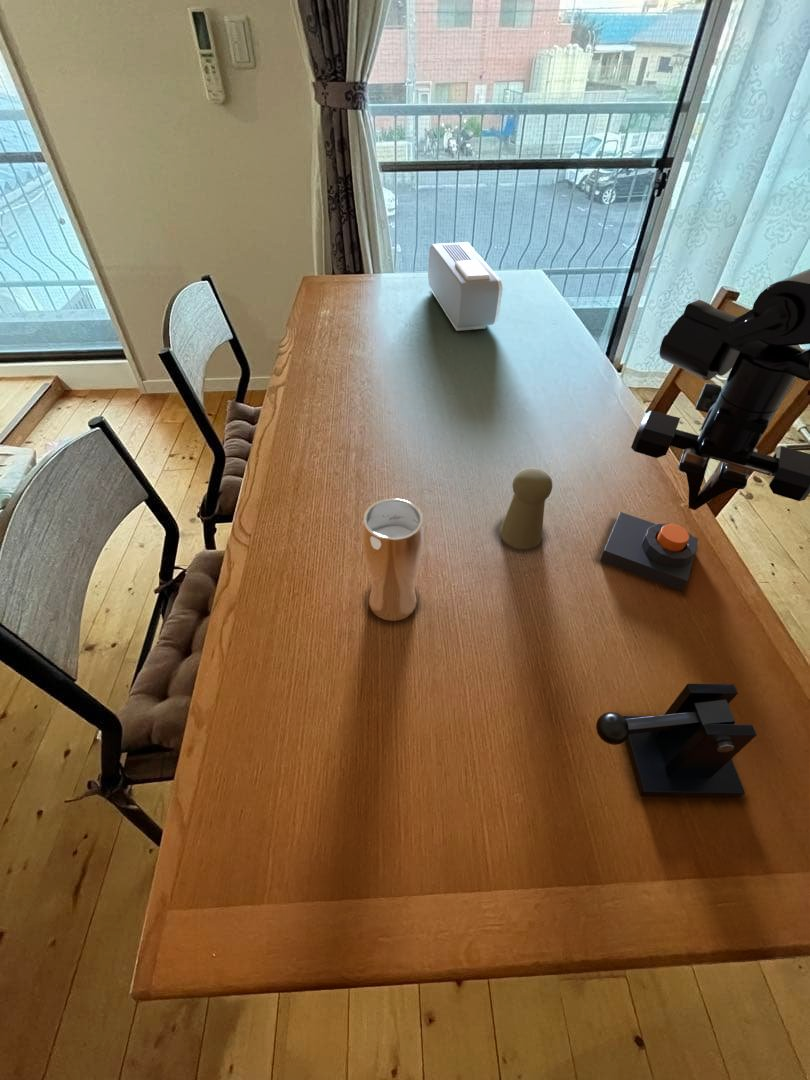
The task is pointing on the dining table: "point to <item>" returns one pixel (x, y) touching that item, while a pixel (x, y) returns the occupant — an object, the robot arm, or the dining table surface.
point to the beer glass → (393, 556)
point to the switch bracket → (690, 751)
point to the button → (673, 537)
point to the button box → (648, 552)
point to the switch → (663, 721)
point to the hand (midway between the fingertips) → (692, 507)
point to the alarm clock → (464, 285)
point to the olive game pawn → (526, 509)
